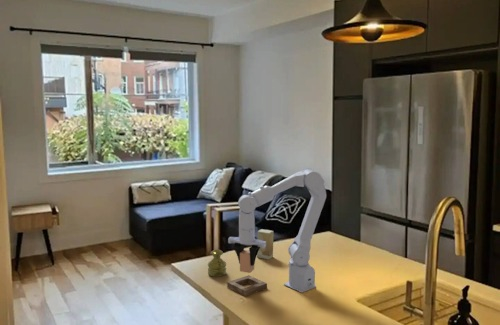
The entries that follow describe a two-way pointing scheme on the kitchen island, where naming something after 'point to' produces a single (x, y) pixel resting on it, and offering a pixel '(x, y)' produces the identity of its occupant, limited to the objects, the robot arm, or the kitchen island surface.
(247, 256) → the peg
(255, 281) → the socket block
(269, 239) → the skincare box
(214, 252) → the olive green textured figure
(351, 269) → the kitchen island surface
